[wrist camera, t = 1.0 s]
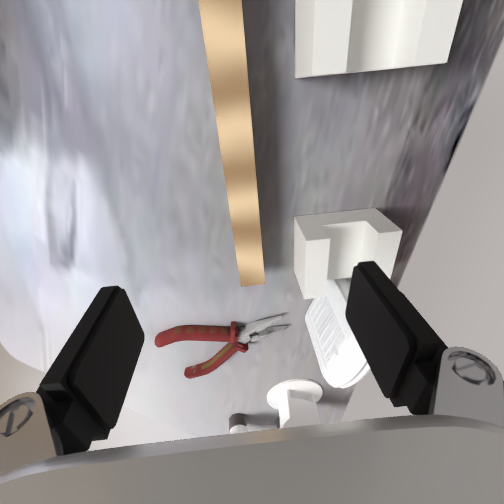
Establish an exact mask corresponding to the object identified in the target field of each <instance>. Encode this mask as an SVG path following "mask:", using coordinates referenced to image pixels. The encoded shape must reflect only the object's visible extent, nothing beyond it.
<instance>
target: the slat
mask: <svg viewBox="0 0 504 504" xmlns="http://www.w3.org/2000/svg"><path fill="white" fill-rule="evenodd" d="M198 1H199V8H200V14H201V21H202V28H203V35H204V41H205V48H206V55H207V61H208V68H209V75H210V82H211V88H212V95H213V102H214V108H215V115H216V122H217V128H218V135H219V142H220V149H221V155H222V162H223V169H224V175H225V182H226V189H227V196H228V202H229V209H230V216H231V222H232V229H233V236H234V242H235V249H236V256H237V263H238V269H239V276H240V283H241V287H242V286H250V285H259V284H265V277H264V265H263V253H262V241H261V229H260V217H259V205H258V193H257V181H256V169H255V157H254V145H253V133H252V121H251V109H250V97H249V85H248V73H247V61H246V49H245V37H244V25H243V13H242V1H241V0H198Z"/></svg>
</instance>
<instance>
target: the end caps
mask: <svg viewBox="0 0 504 504" xmlns="http://www.w3.org/2000/svg"><path fill="white" fill-rule="evenodd" d="M462 2H463V0H295V79H296V78H307V77H317V76H327V75H337V74H347V73H357V72H368V71H378V70H388V69H398V68H407V67H416V66H424V65H432V64H441V63H447V60H448V56H449V52H450V48H451V44H452V41H453V37H454V33H455V29H456V25H457V21H458V18H459V14H460V10H461V6H462ZM402 232H403V230H401V229H400V228H399V227H398V226H396V225H395V224H394V223H393V222H392V221H390V220H389V219H388V218H387V217H386V216H384V215H383V214H382V213H381V212H380V211H378V210H377V209H376V208H370V209H361V210H352V211H342V212H333V213H323V214H314V215H304V216H295V217H294V271H295V274H296V277H297V280H298V283H299V285H300V288H301V291H302V294H303V297H304V299H310V298H319V297H325V293H326V282H327V280H332V279H341V278H350V277H352V272H353V268H354V266H357V264H358V263H359V262H365V261H375V262H376V263H377V264H378V266H379V267H380V268H381V269H382V271H383V272H384V273H385V274H386V275H387V277H388V278H389V279H390V278H391V274H392V270H393V266H394V263H395V259H396V255H397V251H398V247H399V243H400V240H401V236H402Z"/></svg>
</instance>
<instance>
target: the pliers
mask: <svg viewBox="0 0 504 504" xmlns="http://www.w3.org/2000/svg"><path fill="white" fill-rule="evenodd" d="M281 318H283V315H280V316H276V317H271V318H267V319H263V320H258V321H254V322H251V323H249V324H247V325H246V327H241V328H238V327H235V322H231V327H218V326H196V325H186V326H177V327H174V328H171V329H169V330H166V331H163V332H161V333H159V334H158V335H157V336H156V338H155V345H156V346H157V347H163V346H165V345H168V344H171V343H173V342H177V341H185V340H195V341H220V342H229V343H228V344H227V345H226V346H225V347H223V348H222V349H221V350H220V351H219V352H218V353H217V354H216V355H215V356H214V357H212V358H211V359H210V360H208V361H206V362H204V363H201V364H197V365H194V366H190V367H187V368H186V369H185V372H184V375H185V376H186V377H187V378H195V377H199V376H202V375H206V374H208V373H210V372H212V371H214V370H215V369H217V368H218V367H219V366H220V365H221V364H223V363H224V362H225V361H226V360H227V359H228V358H229V357H231V356H232V355H233V354H234V353H235V352H236V351H237V350H239V351H241V352H243V353H245V352H246V351H247V350H248V342H249V341H250V339H251V342H254V341H258V340H261V339H263V338H266V337H268V336H270V335H273V334H275V333H277V332H280V331H282V330H284V329H286V328H288V326H275V327H268V326H270V325H271V324H273V323H275V322H276V321H278V320H279V319H281Z"/></svg>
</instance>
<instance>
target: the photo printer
mask: <svg viewBox="0 0 504 504" xmlns="http://www.w3.org/2000/svg"><path fill="white" fill-rule="evenodd" d="M350 283H351V278H341V279H332V280H327V282H326V293H325V297H319V298H314V300H313V302H312V303H311V305H310V307H309V309H308V311H307V313H306V315H305V321H306V324H307V327H308V330H309V334H310V337H311V340H312V343H313V346H314V349H315V353H316V356H317V359H318V362H319V365H320V369H321V372H322V374H323V376H324V378H325V379H326V381H327V382H328V383H329V384H330V385H331V386H333V387H335V388H337V387H340V388H346V387H349V386H351V385H353V384H355V383H356V382H358V381H359V380H361V379H362V378H363V377H364V376H365V375H366V374H367V373H368V372H369V371H370V370H371V369H370V367H369V365H368V363H367V361H366V359H365V357H364V355H363V353H362V351H361V349H360V347H359V345H358V343H357V340H356V338H355V336H354V334H353V332H352V330H351V328H350V326H349V324H348V322H347V320H346V316H345V311H346V305H347V300H348V294H349V289H350Z"/></svg>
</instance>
